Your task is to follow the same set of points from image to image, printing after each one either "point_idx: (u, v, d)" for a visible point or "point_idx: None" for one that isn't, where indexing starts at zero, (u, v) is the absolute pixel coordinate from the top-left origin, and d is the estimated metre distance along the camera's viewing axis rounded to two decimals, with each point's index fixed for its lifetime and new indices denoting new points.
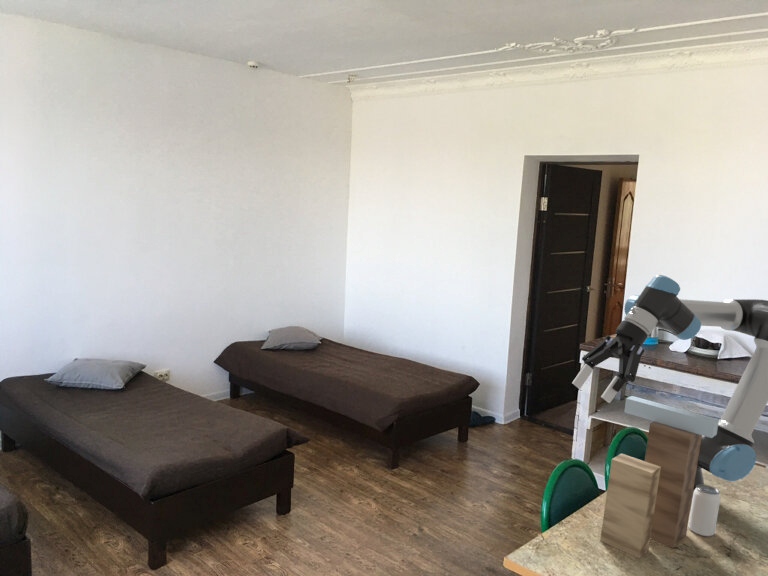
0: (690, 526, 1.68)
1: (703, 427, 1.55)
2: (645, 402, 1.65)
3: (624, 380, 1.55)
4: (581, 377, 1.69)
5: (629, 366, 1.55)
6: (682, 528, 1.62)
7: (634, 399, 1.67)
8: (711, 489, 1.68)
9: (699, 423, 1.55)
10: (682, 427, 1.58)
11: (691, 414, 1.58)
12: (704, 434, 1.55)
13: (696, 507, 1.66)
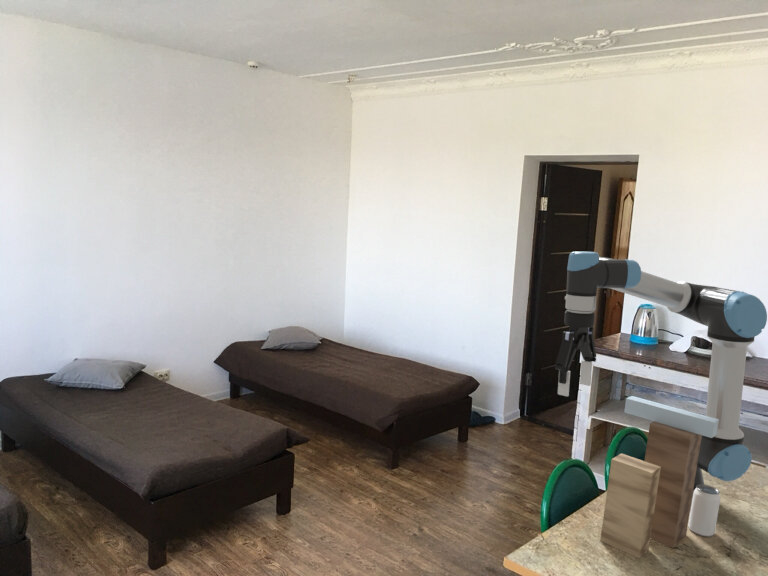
0: (690, 526, 1.68)
1: (703, 427, 1.55)
2: (645, 402, 1.65)
3: (562, 371, 1.58)
4: (583, 375, 1.69)
5: None
6: (682, 528, 1.62)
7: (634, 399, 1.67)
8: (711, 489, 1.68)
9: (699, 423, 1.55)
10: (682, 427, 1.58)
11: (691, 414, 1.58)
12: (704, 434, 1.55)
13: (696, 507, 1.66)
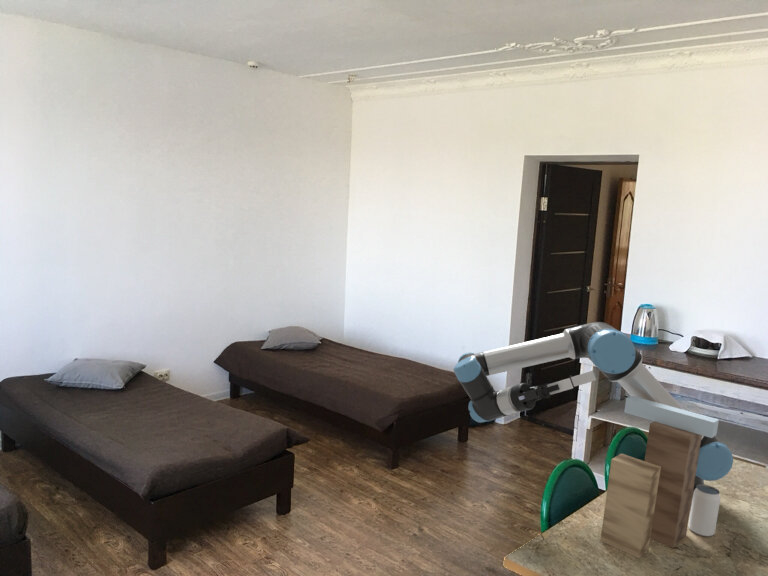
0: (690, 526, 1.68)
1: (703, 427, 1.55)
2: (645, 402, 1.65)
3: (545, 390, 1.61)
4: (585, 379, 1.69)
5: (535, 398, 1.63)
6: (682, 528, 1.62)
7: (634, 399, 1.67)
8: (711, 489, 1.68)
9: (699, 423, 1.55)
10: (682, 427, 1.58)
11: (691, 414, 1.58)
12: (704, 434, 1.55)
13: (696, 507, 1.66)
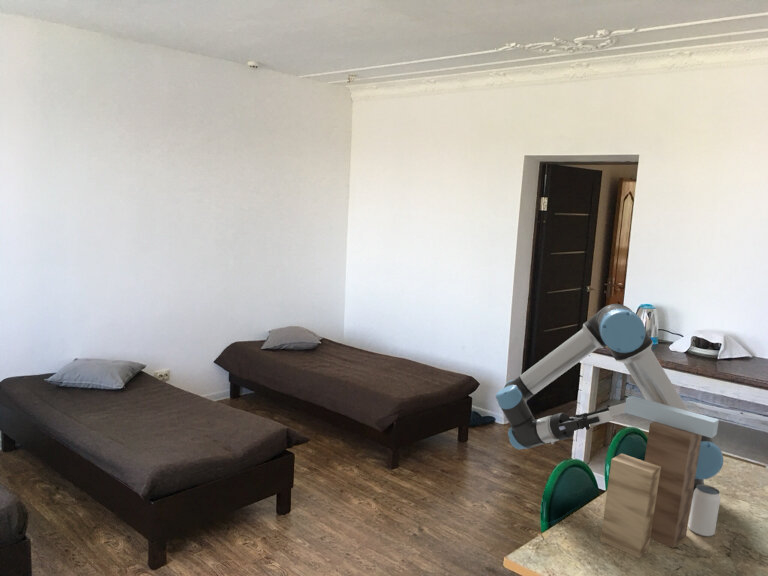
0: (690, 526, 1.68)
1: (703, 427, 1.55)
2: (645, 402, 1.65)
3: (586, 422, 1.69)
4: (622, 410, 1.77)
5: (576, 429, 1.70)
6: (682, 528, 1.62)
7: (634, 399, 1.67)
8: (711, 489, 1.68)
9: (699, 423, 1.55)
10: (682, 427, 1.58)
11: (691, 414, 1.58)
12: (704, 434, 1.55)
13: (696, 507, 1.66)
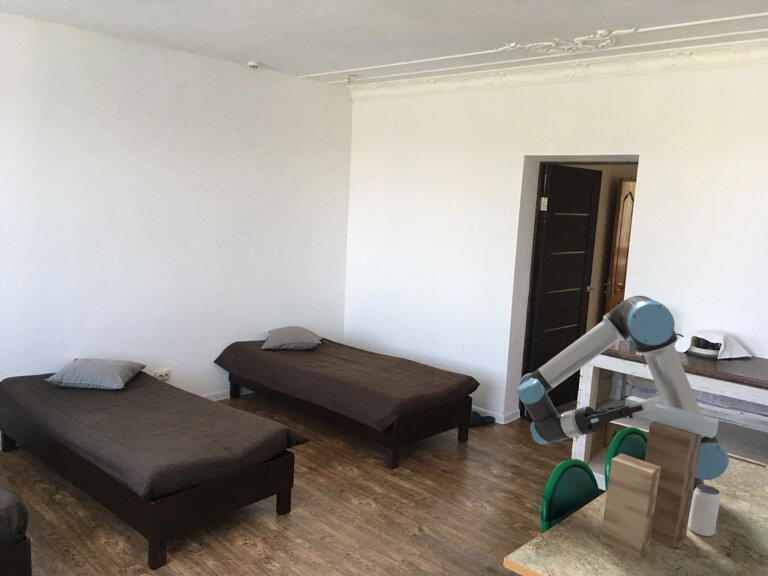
0: (690, 526, 1.68)
1: (703, 427, 1.55)
2: None
3: (628, 410, 1.65)
4: None
5: None
6: (682, 528, 1.62)
7: (634, 399, 1.67)
8: (711, 489, 1.68)
9: (699, 423, 1.55)
10: (682, 427, 1.58)
11: (691, 414, 1.58)
12: (704, 434, 1.55)
13: (696, 507, 1.66)
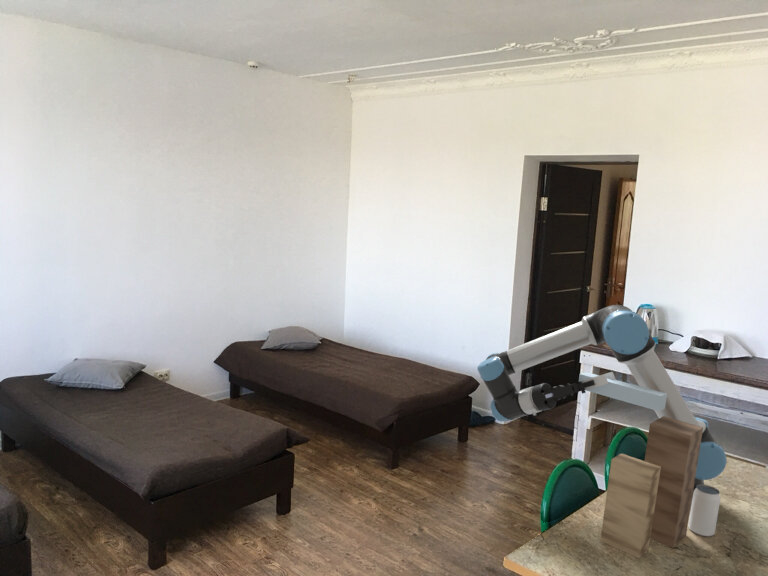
0: (690, 526, 1.68)
1: (651, 401, 1.57)
2: None
3: (581, 385, 1.68)
4: None
5: (569, 394, 1.69)
6: (682, 528, 1.62)
7: (587, 375, 1.70)
8: (711, 489, 1.68)
9: (647, 396, 1.57)
10: (631, 401, 1.60)
11: (640, 388, 1.60)
12: (652, 407, 1.57)
13: (696, 507, 1.66)
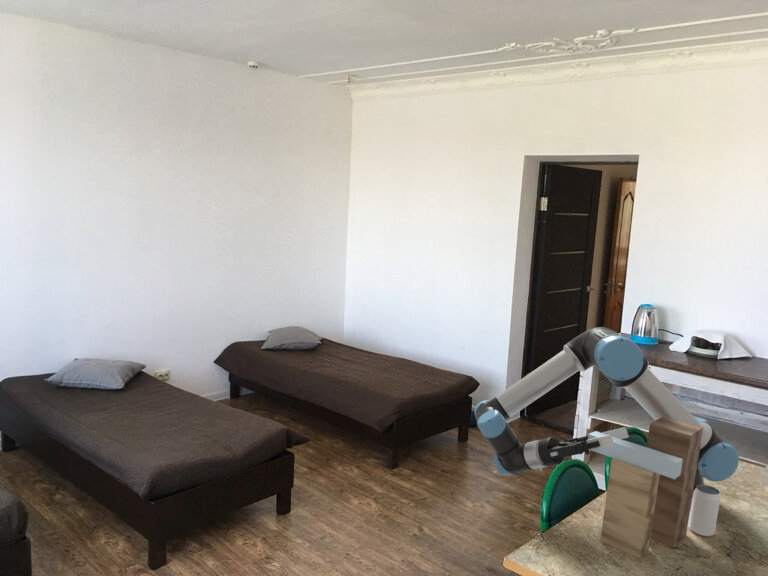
0: (690, 526, 1.68)
1: (666, 468, 1.48)
2: None
3: (585, 446, 1.57)
4: (617, 436, 1.62)
5: (573, 454, 1.59)
6: (682, 528, 1.62)
7: (597, 435, 1.60)
8: (711, 489, 1.68)
9: (662, 463, 1.48)
10: (645, 466, 1.51)
11: (654, 453, 1.51)
12: (667, 474, 1.48)
13: (696, 507, 1.66)
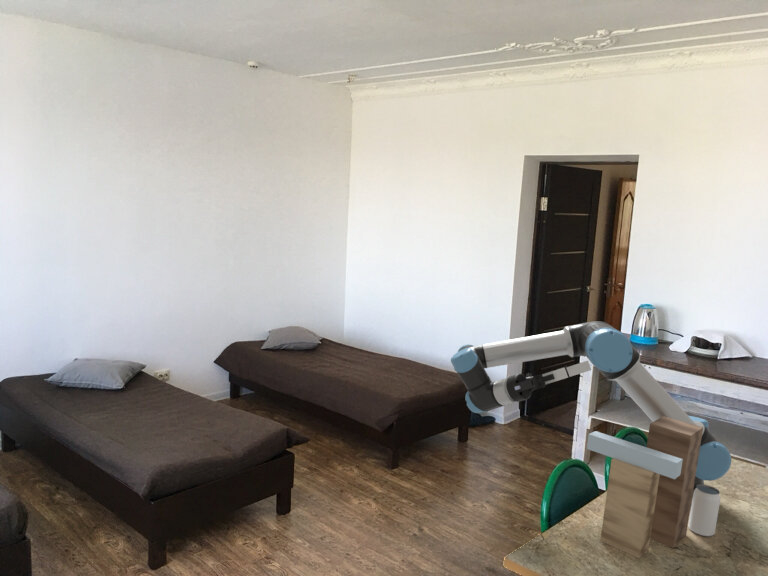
0: (690, 526, 1.68)
1: (666, 468, 1.48)
2: (608, 439, 1.58)
3: (540, 380, 1.62)
4: (580, 369, 1.71)
5: (531, 388, 1.64)
6: (682, 528, 1.62)
7: (597, 435, 1.60)
8: (711, 489, 1.68)
9: (662, 463, 1.48)
10: (645, 466, 1.51)
11: (654, 453, 1.51)
12: (667, 474, 1.48)
13: (696, 507, 1.66)
